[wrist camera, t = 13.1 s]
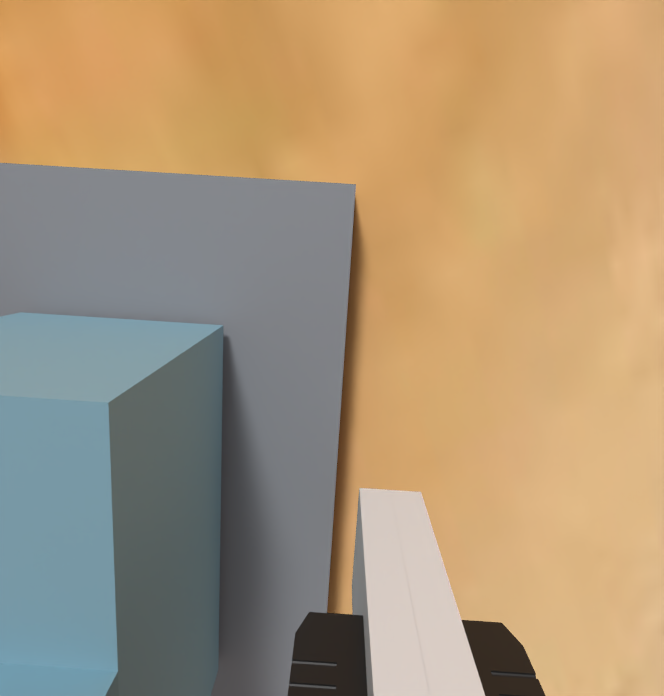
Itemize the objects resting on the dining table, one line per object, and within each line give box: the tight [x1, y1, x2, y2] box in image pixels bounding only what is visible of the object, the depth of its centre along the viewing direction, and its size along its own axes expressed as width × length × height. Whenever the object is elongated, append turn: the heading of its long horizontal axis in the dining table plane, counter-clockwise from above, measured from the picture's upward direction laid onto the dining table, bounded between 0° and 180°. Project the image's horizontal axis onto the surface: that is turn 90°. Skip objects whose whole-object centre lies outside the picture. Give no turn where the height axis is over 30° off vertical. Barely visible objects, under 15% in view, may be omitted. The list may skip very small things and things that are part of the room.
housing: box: [0, 312, 223, 696], centre depth 10 cm, size 5×10×7 cm, turn 177°
